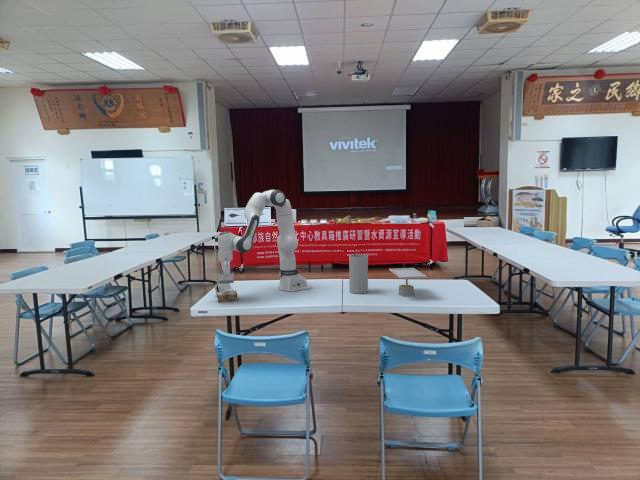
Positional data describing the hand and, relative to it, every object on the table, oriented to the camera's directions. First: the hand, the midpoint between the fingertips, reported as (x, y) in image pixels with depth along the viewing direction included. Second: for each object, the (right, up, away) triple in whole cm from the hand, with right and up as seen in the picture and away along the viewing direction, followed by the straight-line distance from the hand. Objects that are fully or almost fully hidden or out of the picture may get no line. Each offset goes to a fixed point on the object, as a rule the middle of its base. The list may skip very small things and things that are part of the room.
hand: (226, 278), depth 277 cm
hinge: (-5, -13, +18) cm, 22 cm away
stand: (0, -14, +2) cm, 14 cm away
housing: (0, -3, 0) cm, 3 cm away
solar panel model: (+118, -12, +8) cm, 118 cm away
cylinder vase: (+86, -11, +18) cm, 89 cm away
